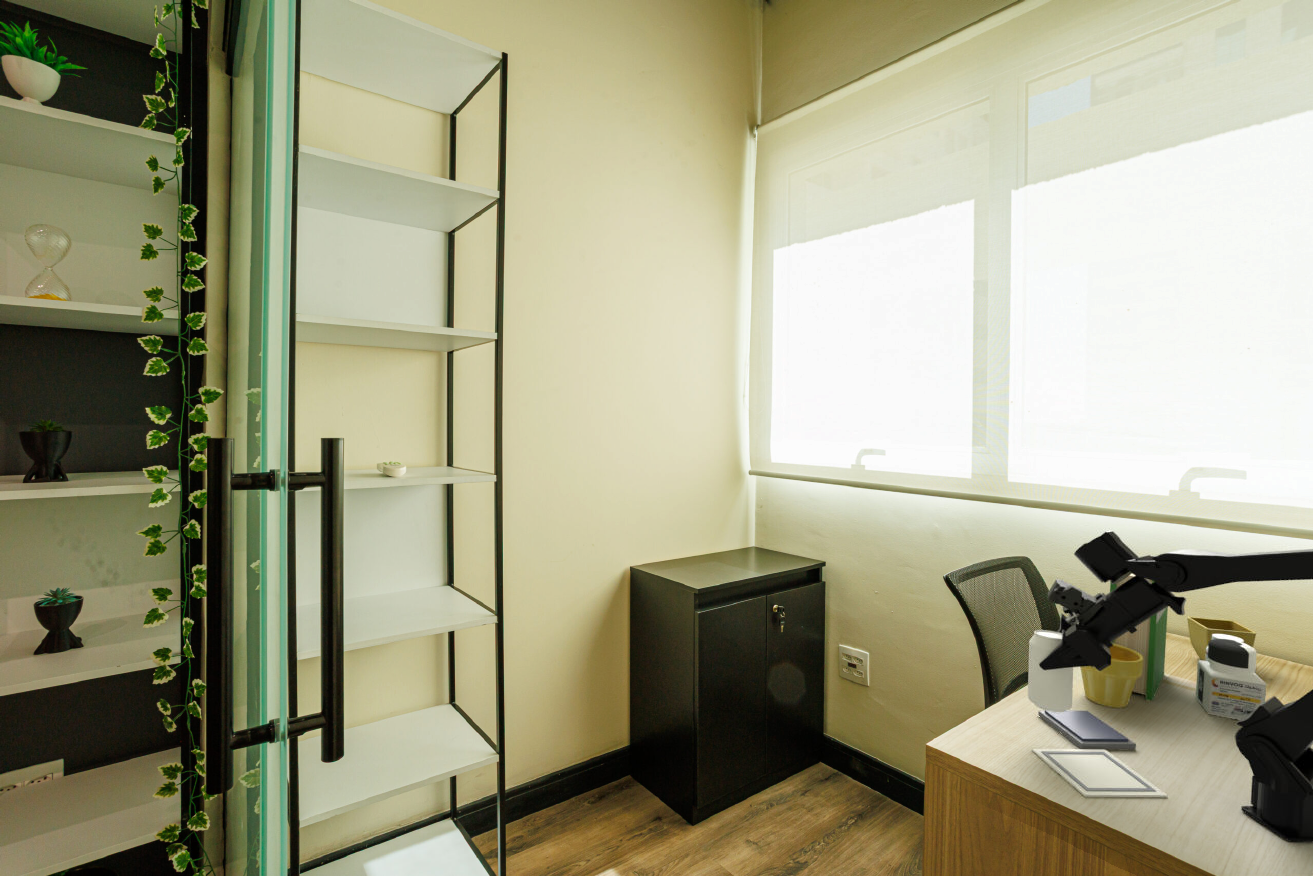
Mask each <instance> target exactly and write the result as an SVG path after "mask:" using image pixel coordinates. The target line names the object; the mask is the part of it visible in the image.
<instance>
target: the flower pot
mask: <svg viewBox="0 0 1313 876" xmlns="http://www.w3.org/2000/svg"><path fill="white" fill-rule="evenodd" d="M1186 620H1187V629H1188V635H1189V640H1190V643H1191V646H1192V649H1193V650H1194V652H1195V654H1196V655H1197V656H1198V658H1199V660H1200V659H1201V660H1203V661H1206V648H1207V646H1208V643H1209V641H1210V640H1212V634H1225V635H1231V636H1235V637H1238V638H1241V639H1243V640H1244V643H1245V644H1247V645H1249V646H1251V647H1253V648H1254V645H1255V640H1256V637H1257V632H1255V631H1254V630H1252V629H1251V628H1250V629H1249V628H1248V627H1247V626H1244V625H1242V624H1240V623H1238V622H1237V621H1234V620H1230V619H1219V618H1218V619H1217V618H1205V617H1194V616H1187V619H1186Z"/></svg>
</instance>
